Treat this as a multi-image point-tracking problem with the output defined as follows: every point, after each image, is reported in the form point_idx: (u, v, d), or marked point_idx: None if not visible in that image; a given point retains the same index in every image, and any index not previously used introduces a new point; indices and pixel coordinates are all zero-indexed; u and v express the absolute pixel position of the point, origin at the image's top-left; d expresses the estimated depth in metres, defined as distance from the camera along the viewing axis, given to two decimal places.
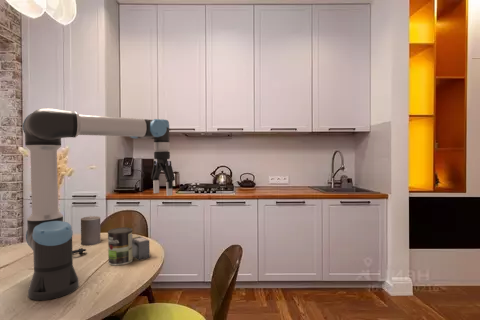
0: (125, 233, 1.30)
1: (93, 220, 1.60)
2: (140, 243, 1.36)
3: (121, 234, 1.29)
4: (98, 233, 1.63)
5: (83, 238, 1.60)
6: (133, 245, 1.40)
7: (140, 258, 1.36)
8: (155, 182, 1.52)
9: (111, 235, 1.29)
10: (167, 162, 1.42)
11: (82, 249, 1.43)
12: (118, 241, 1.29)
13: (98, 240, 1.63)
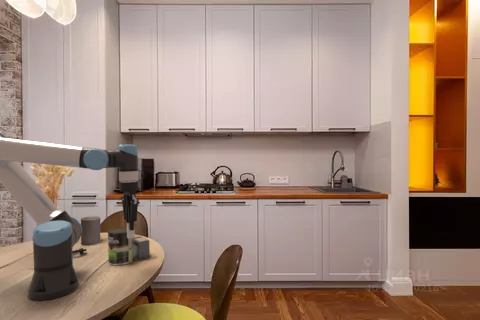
0: (125, 233, 1.30)
1: (93, 220, 1.60)
2: (140, 243, 1.36)
3: (121, 234, 1.29)
4: (98, 233, 1.63)
5: (83, 238, 1.60)
6: (133, 245, 1.40)
7: (140, 258, 1.36)
8: None
9: (111, 235, 1.29)
10: (133, 202, 1.21)
11: (82, 249, 1.43)
12: (118, 241, 1.29)
13: (98, 240, 1.63)
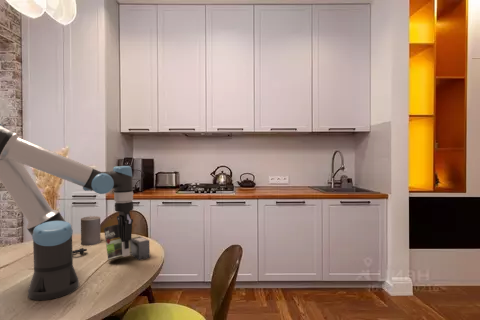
0: None
1: (93, 220, 1.60)
2: (140, 243, 1.36)
3: (116, 226, 1.33)
4: (98, 233, 1.63)
5: (83, 238, 1.60)
6: (133, 245, 1.40)
7: (140, 258, 1.36)
8: None
9: (107, 229, 1.33)
10: (128, 222, 1.25)
11: (83, 249, 1.43)
12: (114, 233, 1.32)
13: (98, 240, 1.63)
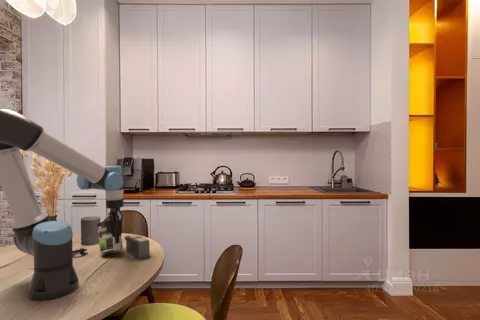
0: None
1: (93, 220, 1.60)
2: (140, 243, 1.36)
3: (108, 221, 1.42)
4: None
5: (83, 238, 1.60)
6: (133, 245, 1.40)
7: (140, 258, 1.36)
8: None
9: (99, 225, 1.42)
10: (118, 218, 1.34)
11: (83, 249, 1.43)
12: (106, 228, 1.41)
13: (98, 240, 1.63)
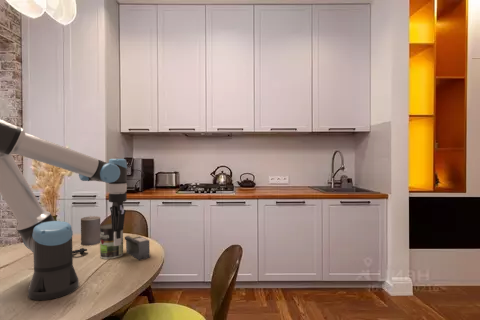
0: None
1: (93, 220, 1.60)
2: (140, 243, 1.36)
3: (111, 229, 1.38)
4: (98, 233, 1.63)
5: (83, 238, 1.60)
6: (133, 245, 1.40)
7: (140, 258, 1.36)
8: None
9: (102, 230, 1.38)
10: (121, 212, 1.30)
11: (83, 249, 1.43)
12: (109, 236, 1.38)
13: (98, 240, 1.63)
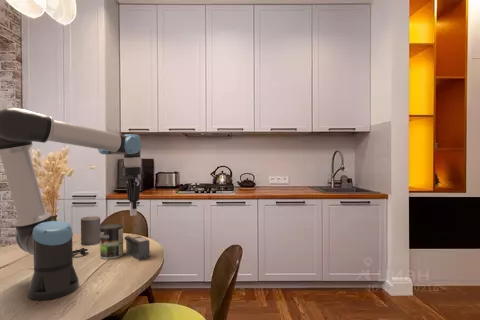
0: (115, 229, 1.39)
1: (93, 220, 1.60)
2: (140, 243, 1.36)
3: (111, 229, 1.38)
4: (98, 233, 1.63)
5: (83, 238, 1.60)
6: (133, 245, 1.40)
7: (140, 258, 1.36)
8: None
9: (102, 230, 1.38)
10: (136, 183, 1.40)
11: (84, 249, 1.43)
12: (109, 236, 1.38)
13: (98, 240, 1.63)
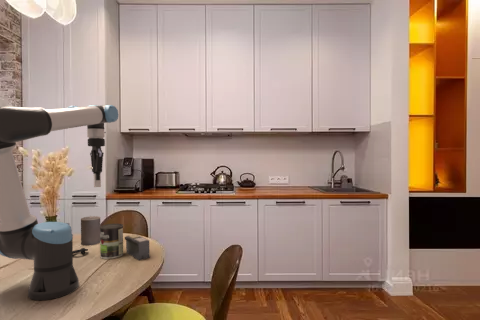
0: (115, 229, 1.39)
1: (93, 220, 1.60)
2: (140, 243, 1.36)
3: (111, 229, 1.38)
4: (98, 233, 1.63)
5: (83, 238, 1.60)
6: (133, 245, 1.40)
7: (140, 258, 1.36)
8: None
9: (102, 230, 1.38)
10: (98, 154, 1.40)
11: (84, 249, 1.43)
12: (109, 236, 1.38)
13: (98, 240, 1.63)
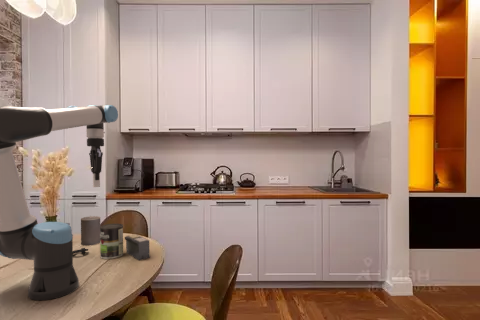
0: (115, 229, 1.39)
1: (93, 220, 1.60)
2: (140, 243, 1.36)
3: (111, 229, 1.38)
4: (98, 233, 1.63)
5: (83, 238, 1.60)
6: (133, 245, 1.40)
7: (140, 258, 1.36)
8: None
9: (102, 230, 1.38)
10: (98, 154, 1.40)
11: (84, 249, 1.43)
12: (109, 236, 1.38)
13: (98, 240, 1.63)
